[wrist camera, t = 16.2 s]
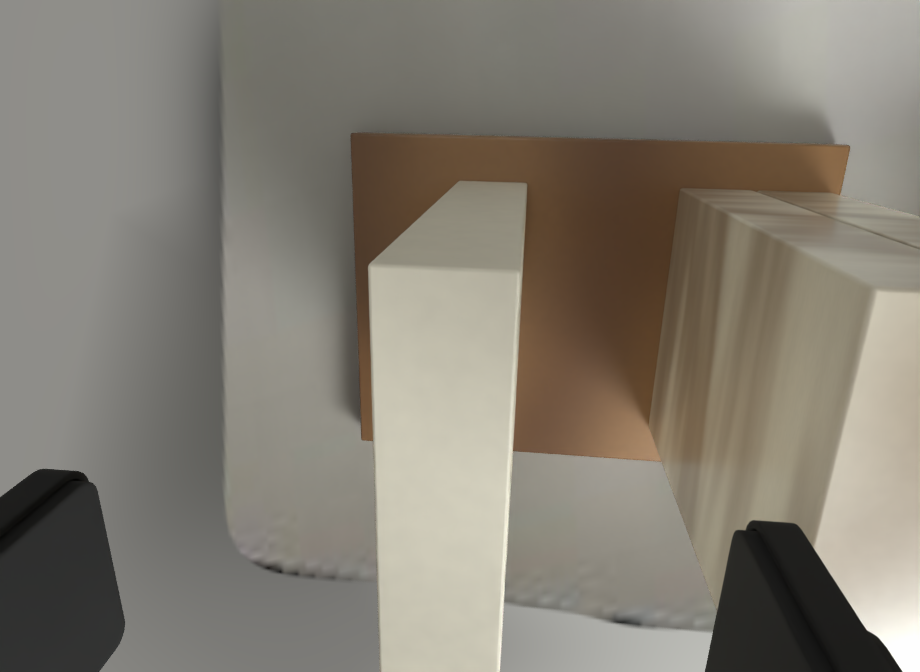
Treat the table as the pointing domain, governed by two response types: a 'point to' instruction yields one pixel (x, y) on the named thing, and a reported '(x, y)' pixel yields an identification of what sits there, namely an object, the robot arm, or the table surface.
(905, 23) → the table surface
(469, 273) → the cream book
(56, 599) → the robot arm
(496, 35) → the table surface
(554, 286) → the cream board
